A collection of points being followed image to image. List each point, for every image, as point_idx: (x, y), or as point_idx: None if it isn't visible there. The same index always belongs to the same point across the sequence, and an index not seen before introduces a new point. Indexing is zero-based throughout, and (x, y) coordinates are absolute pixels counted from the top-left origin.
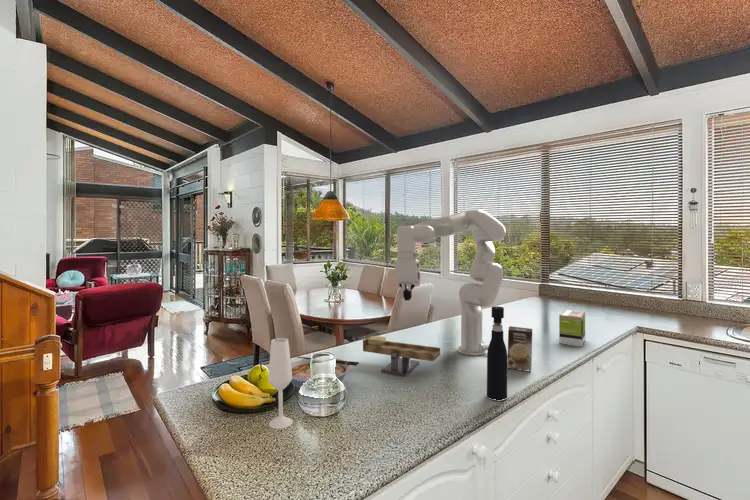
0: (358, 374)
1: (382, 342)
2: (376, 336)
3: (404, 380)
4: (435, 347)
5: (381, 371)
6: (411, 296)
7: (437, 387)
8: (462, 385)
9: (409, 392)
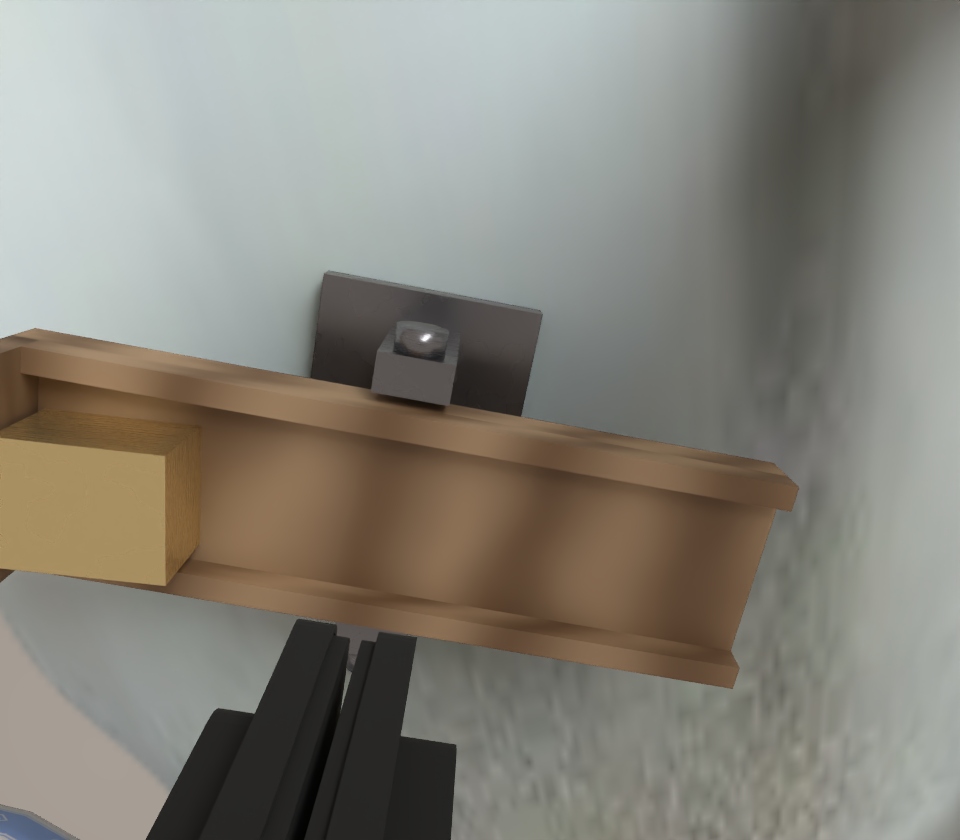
0: (145, 643)
1: (178, 541)
2: (46, 455)
3: (487, 661)
4: (749, 486)
5: None
6: (453, 764)
7: (712, 710)
8: (876, 645)
9: (551, 809)
